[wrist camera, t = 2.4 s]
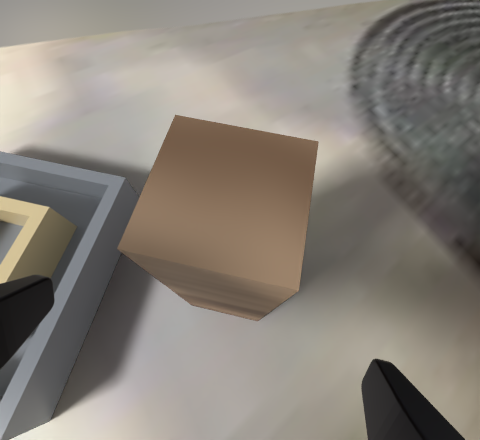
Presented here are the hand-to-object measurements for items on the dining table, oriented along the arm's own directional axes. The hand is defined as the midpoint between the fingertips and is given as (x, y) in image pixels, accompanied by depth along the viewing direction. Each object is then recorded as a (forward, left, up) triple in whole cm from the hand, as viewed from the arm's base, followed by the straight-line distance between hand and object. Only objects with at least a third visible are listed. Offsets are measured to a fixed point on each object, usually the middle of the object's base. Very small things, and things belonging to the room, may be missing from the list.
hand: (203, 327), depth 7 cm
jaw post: (+3, -1, -10) cm, 11 cm away
